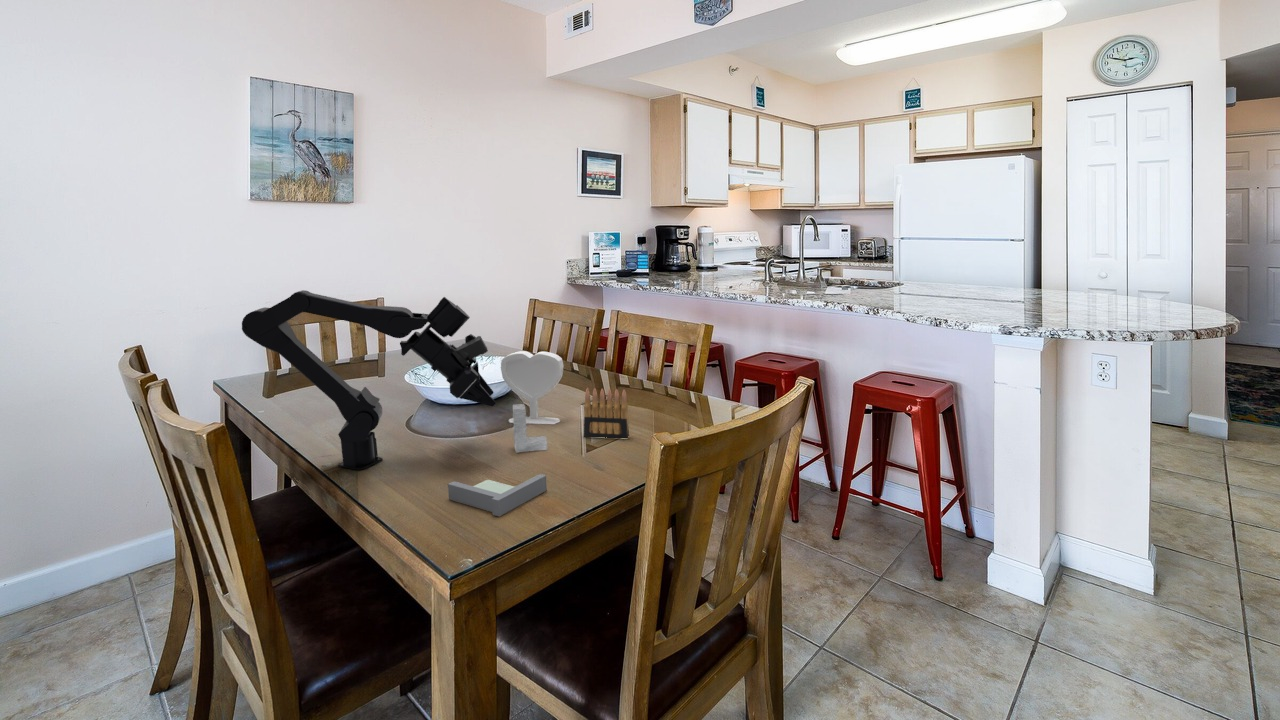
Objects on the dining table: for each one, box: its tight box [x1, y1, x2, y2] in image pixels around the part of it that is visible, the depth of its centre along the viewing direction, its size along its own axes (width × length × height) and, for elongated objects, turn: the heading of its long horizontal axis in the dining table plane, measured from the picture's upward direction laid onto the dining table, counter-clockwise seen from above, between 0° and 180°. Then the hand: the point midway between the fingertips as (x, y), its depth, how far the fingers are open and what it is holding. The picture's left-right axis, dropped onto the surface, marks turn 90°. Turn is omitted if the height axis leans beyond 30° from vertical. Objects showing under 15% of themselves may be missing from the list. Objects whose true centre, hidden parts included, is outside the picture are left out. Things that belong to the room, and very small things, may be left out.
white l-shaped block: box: [512, 403, 548, 454], centre depth 142 cm, size 7×4×10 cm, turn 105°
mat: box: [472, 479, 515, 494], centre depth 119 cm, size 10×7×1 cm
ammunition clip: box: [583, 387, 630, 439], centre depth 149 cm, size 11×2×12 cm, turn 81°
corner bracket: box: [447, 473, 548, 517], centre depth 117 cm, size 13×13×3 cm
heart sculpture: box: [500, 350, 565, 425], centre depth 162 cm, size 16×5×18 cm, turn 83°
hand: (493, 399), depth 139 cm, fingers open, 9 cm apart
